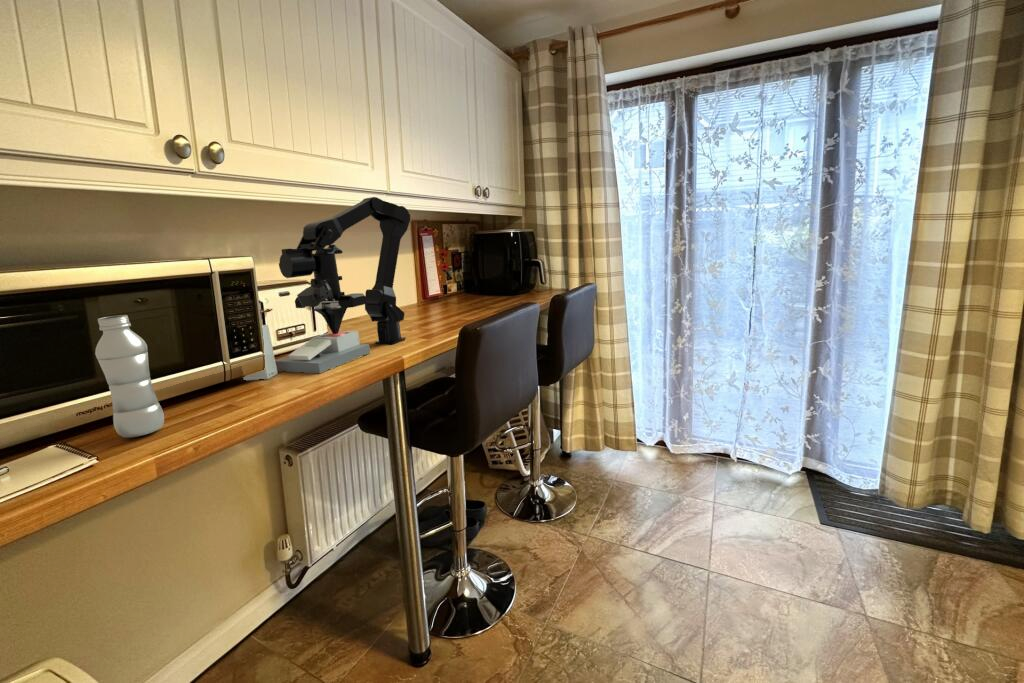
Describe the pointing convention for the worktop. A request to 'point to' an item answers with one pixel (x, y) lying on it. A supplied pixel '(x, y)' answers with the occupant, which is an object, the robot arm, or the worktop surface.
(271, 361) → the grey tapered stand
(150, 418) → the plastic bottle
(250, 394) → the worktop surface
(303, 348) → the rocker switch
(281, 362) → the grey switch base
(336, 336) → the breaker button
